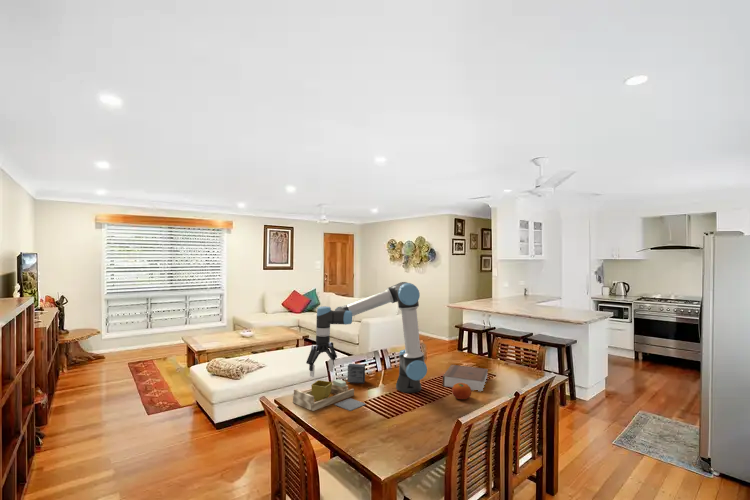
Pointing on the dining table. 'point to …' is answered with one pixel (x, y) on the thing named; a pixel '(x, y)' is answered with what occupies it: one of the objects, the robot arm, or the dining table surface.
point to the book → (465, 377)
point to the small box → (356, 373)
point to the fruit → (461, 391)
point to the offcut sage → (339, 383)
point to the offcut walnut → (335, 391)
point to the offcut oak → (339, 388)
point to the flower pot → (321, 389)
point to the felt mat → (350, 404)
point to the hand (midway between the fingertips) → (321, 373)
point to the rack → (308, 401)
